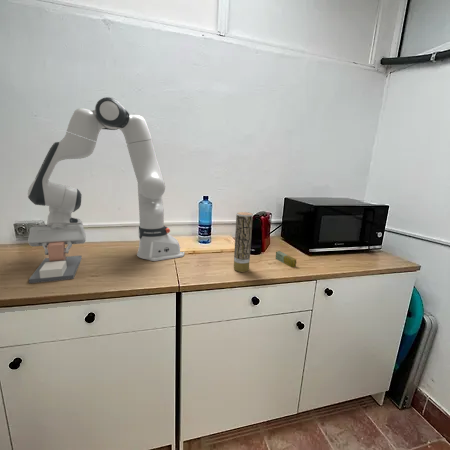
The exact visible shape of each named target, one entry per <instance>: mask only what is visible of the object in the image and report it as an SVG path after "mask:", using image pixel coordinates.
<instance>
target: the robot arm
mask: <svg viewBox="0 0 450 450" xmlns="http://www.w3.org/2000/svg"><path fill="white" fill-rule="evenodd" d="M101 130H107V131H109V130H110V131H116V130H117V131H118V130H120V131H121V132H122V134H123V137H124V140H125V143H126V144H125V145H126V148H127V150H128V154H129V157H130V161H131V165H132V167H133V171H134V175H135V178H136V181H137V193H138V194H137V197H138V211H139V218H138V219H139V226H138V237H139V243H138V250H137V253H136V256H137V257H138V258H140V259H144V260H148V261H151V262H157V261H164V260H170V259H176V258H177V259H178V258H182V257H184V256H185V251H184V252H180V248H181V246H180V242H179V241H178V239H177V238H176V237H174V236H173V235H171V234H170V232H171V230H170V229H171V228H169V227H168V226H167V225H165V223H164V221H165V220H164V219H165V218H164V215H165V213H164V202H163V195H164V193H165V190H166V185H165V181H164V177H163V173H162V170H161V167H160V163H159V161H158V157H157V153H156V150H155V145H154V142H153V138H152V135H151V130H150V129H149V126H148V124H147V121H146V119H145V118H144V117H143V116H141V115H139V114H130V112H129V111H128V110H127V109H126V108H125V107H124V106H123V104H122V103H121V102H119V100H117V99H115V98H113V97H109V96H108V97H105V96H104V97H102V98H100V99H98V101H97V102H96V104H95V107H94V110H93V109H89V108H83V107H82V108H81V107H80V108H76V109H75V110H74V111H73V113H72V115H71V117H70V120H69V123H68V125H67V129H66V132H65V135H64V137H63V138H62V139H61V140H60V141H56V142H54V143H53V144H52V145H51V146H50V148H49V150H48V152H47V154H46V155H45V158H44V160H43V162H42V164H41V166H40V167H39V170H38V173H37V174H36V176H35V177H34V180H33V181H32V182H31V184H30V185H29V187H28V189H27V190H28V191H27V198H28V200H29V201H31V203H33V204H34V205H35V206H43V207H44V206H45V207H46V206H47V207H48V211H49V213H48V215H47V223H46V224H35V225H32V226H31V227H30V228H29V230H28V231H29V235H28V237H27V238H28V239H27V243H28V244H29V246H31V247H43V249H44V254H45V256H47V255H48V244H49V243H52V242H64V244H65V245H67V246H65V248H64V254H69V251H70V249H71V248H72V246H73V245H80V244H82V245H83V244H85V243H86V241H87V237H86V232H85V228H84V224H83V221H82V219H80V218H76V217H72V213H75V212H76V211H78V210H79V209H80V207H81V206H82V197H83V196H82V192H81V191H80V190H79V189H78V188H76V187H74V186H73V187H72V186H69V185H63V184H59V183H55V182H51V181H50V180H49V179H50V178H51V175H52V173H53V172H54V170H55V167H56V165H57V164H58V163H59V162H61V161H64V160H78V159H79V160H81V159H84V158H85V159H86V158H88V157H90V156H91V155H92V154H93V153H94V151H95V148H96V145H97V142H98V137H99V134H100V133H101V132H100V131H101ZM48 256H49V255H48Z"/></svg>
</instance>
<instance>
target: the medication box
mask: <svg viewBox="0 0 450 450" xmlns="http://www.w3.org/2000/svg"><path fill="white" fill-rule="evenodd" d="M275 260H277V261H279V262H280V263H283V265H287V266H288V267H290V268H296V267H297V258H295V257H293V256H291V255H288V254H286V253H284V252H283V251H280V250H279V251H276V252H275Z"/></svg>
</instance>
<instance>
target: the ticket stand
mask: <svg viewBox="0 0 450 450" xmlns="http://www.w3.org/2000/svg"><path fill="white" fill-rule="evenodd" d="M81 261H82V255H71V256H66V260H58V261H49V257H45V258H44V259H43V260H42V261H41V263H40V264H39V266H38V267H37V268H36V270H35V271H34V272H33V273H32V274H31V276H30V277H29V278H28V283H29V284H36V283H44V282H45V283H47V282H57V281H65V280H74V279H75V276H76V274H77V271H78V269H79V267H80V264H81Z"/></svg>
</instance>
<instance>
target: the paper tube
mask: <svg viewBox="0 0 450 450" xmlns="http://www.w3.org/2000/svg"><path fill="white" fill-rule="evenodd" d="M235 216H236V217H235V234H234V250H233V251H234V253H233V254H234V255H233V269H234V270H235V271H236V272H240V273H246V272H248V271H249V269H250V261H251V260H250V259H251V247H252V246H251V245H252V230H253V218H254V215H253V212H252V213H251V212H246V211H238V212H236V215H235Z"/></svg>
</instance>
